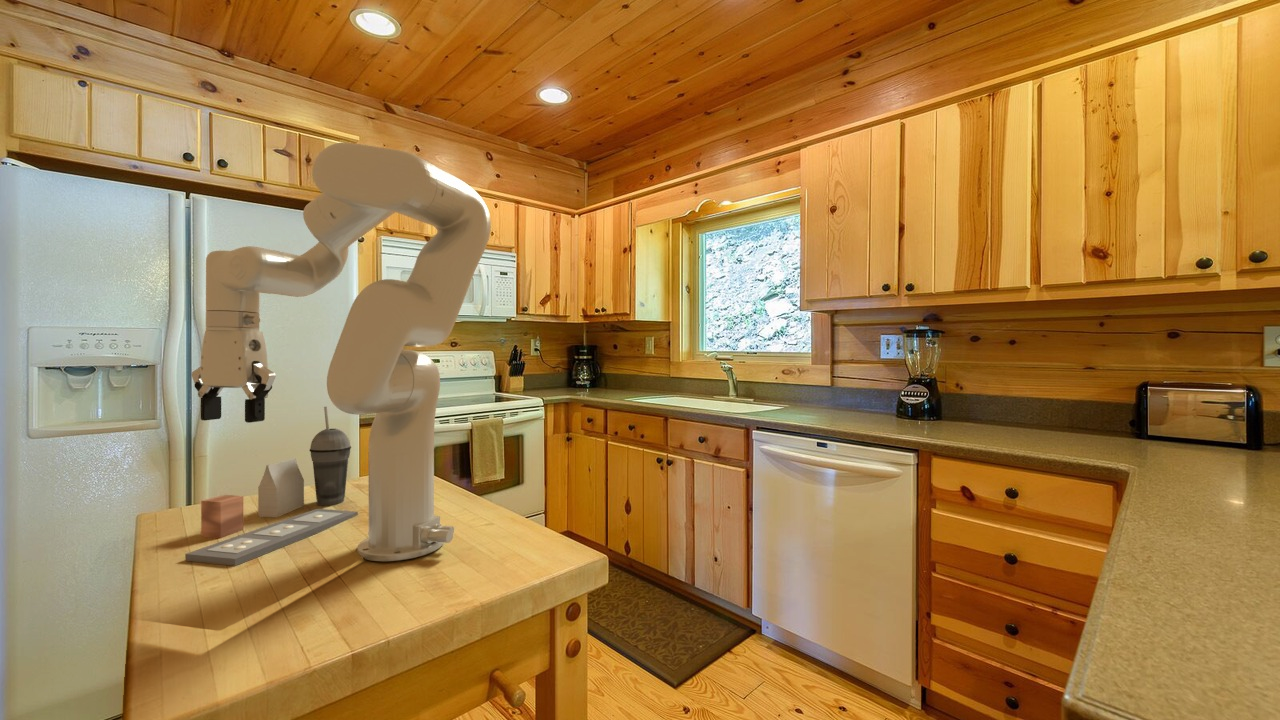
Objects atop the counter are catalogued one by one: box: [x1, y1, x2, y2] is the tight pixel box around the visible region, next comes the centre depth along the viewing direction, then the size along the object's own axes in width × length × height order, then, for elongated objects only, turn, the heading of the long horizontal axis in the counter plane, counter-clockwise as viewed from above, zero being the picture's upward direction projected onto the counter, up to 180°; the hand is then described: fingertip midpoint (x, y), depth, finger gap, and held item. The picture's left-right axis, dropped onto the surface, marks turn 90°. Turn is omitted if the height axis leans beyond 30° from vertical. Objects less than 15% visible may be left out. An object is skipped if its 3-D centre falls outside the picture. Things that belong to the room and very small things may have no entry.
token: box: [200, 494, 244, 539], centre depth 91 cm, size 4×4×6 cm
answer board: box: [184, 508, 359, 567], centre depth 89 cm, size 9×24×1 cm, turn 168°
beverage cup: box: [309, 405, 352, 507], centre depth 107 cm, size 7×7×20 cm
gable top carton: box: [257, 458, 305, 518], centre depth 102 cm, size 4×7×10 cm, turn 173°
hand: (232, 420), depth 94 cm, fingers open, 9 cm apart
